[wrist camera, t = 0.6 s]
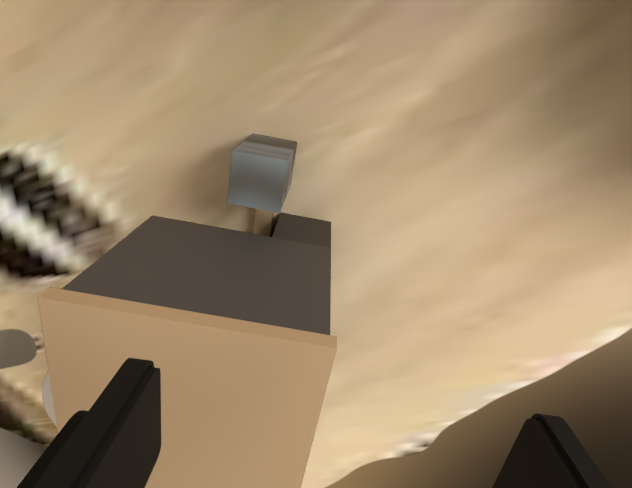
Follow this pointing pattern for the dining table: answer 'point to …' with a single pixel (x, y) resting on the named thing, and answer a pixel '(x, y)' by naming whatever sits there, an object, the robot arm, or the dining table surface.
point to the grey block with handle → (261, 177)
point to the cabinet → (205, 344)
